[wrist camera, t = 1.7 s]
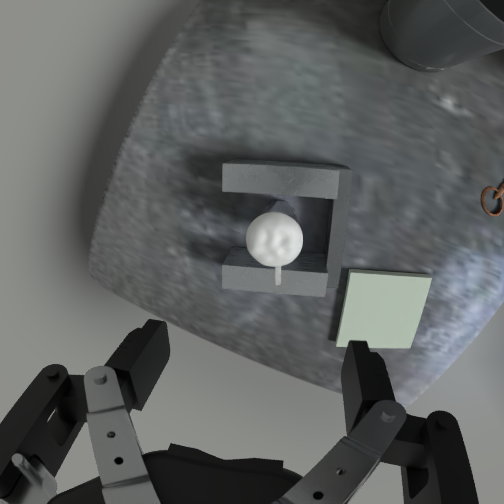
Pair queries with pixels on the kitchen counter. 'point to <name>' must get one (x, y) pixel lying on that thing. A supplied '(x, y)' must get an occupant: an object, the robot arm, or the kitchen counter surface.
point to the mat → (382, 308)
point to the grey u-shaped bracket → (305, 264)
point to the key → (497, 195)
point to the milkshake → (275, 237)
